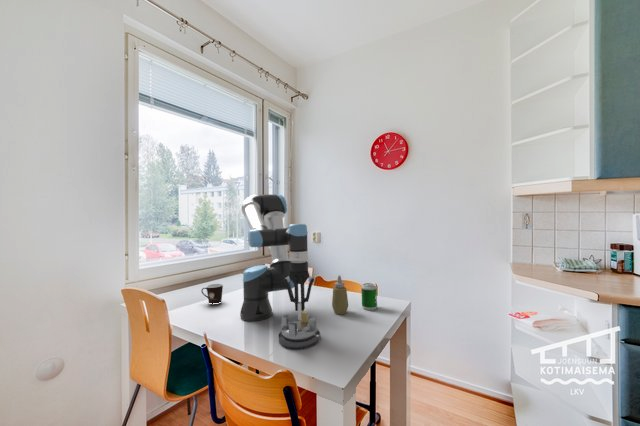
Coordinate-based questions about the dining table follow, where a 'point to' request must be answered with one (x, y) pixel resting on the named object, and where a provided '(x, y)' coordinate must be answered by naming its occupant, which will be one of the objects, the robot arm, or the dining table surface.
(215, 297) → the coffee mug
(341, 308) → the squeeze bottle
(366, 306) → the soda can
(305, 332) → the four-lug metal disc
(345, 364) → the dining table surface
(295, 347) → the mounting flange
